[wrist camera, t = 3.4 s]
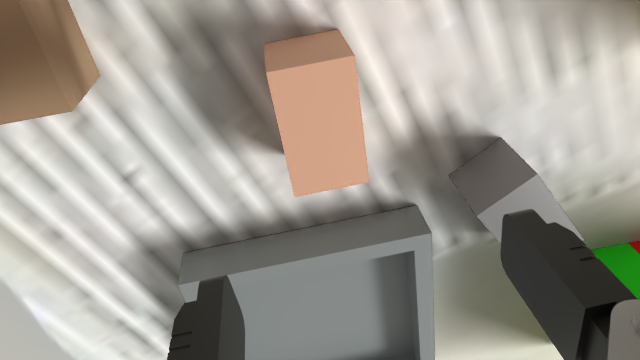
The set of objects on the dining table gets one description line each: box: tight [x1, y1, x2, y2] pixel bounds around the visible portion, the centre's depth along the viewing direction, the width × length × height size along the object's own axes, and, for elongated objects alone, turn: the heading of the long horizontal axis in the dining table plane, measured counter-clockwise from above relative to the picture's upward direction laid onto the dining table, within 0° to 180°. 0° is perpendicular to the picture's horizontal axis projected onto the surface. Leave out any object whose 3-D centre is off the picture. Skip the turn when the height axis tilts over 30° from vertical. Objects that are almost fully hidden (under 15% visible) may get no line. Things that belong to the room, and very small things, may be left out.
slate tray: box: [178, 205, 435, 360], centre depth 30 cm, size 14×14×3 cm
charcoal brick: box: [449, 138, 584, 244], centre depth 26 cm, size 6×4×4 cm, turn 41°
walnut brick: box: [0, 0, 100, 125], centre depth 18 cm, size 6×4×4 cm, turn 9°
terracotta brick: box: [264, 29, 369, 197], centre depth 21 cm, size 6×4×4 cm, turn 9°
